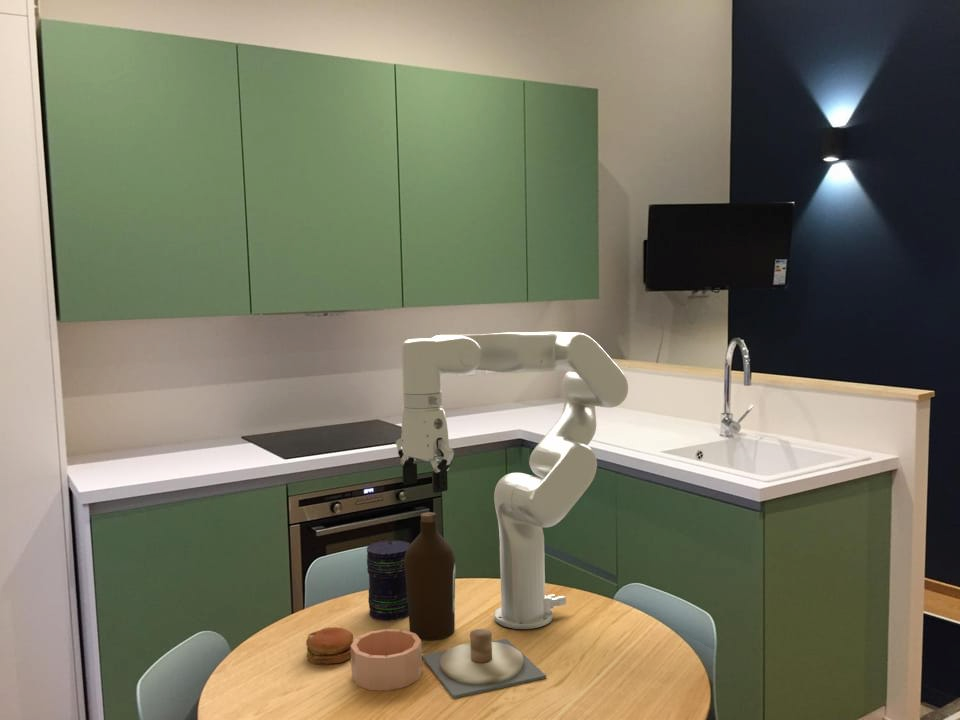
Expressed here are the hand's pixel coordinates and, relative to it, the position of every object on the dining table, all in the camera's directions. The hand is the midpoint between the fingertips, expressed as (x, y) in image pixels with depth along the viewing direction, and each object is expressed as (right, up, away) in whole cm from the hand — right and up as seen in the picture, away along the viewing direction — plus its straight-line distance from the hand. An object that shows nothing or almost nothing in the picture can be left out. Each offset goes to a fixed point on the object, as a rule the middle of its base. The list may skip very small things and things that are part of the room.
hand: (424, 487), depth 165 cm
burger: (-19, -33, -1) cm, 38 cm away
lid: (+11, -32, -8) cm, 35 cm away
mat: (+11, -33, -8) cm, 35 cm away
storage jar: (-9, -31, +21) cm, 38 cm away
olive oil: (+1, -32, +9) cm, 33 cm away
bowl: (-6, -33, -10) cm, 35 cm away
